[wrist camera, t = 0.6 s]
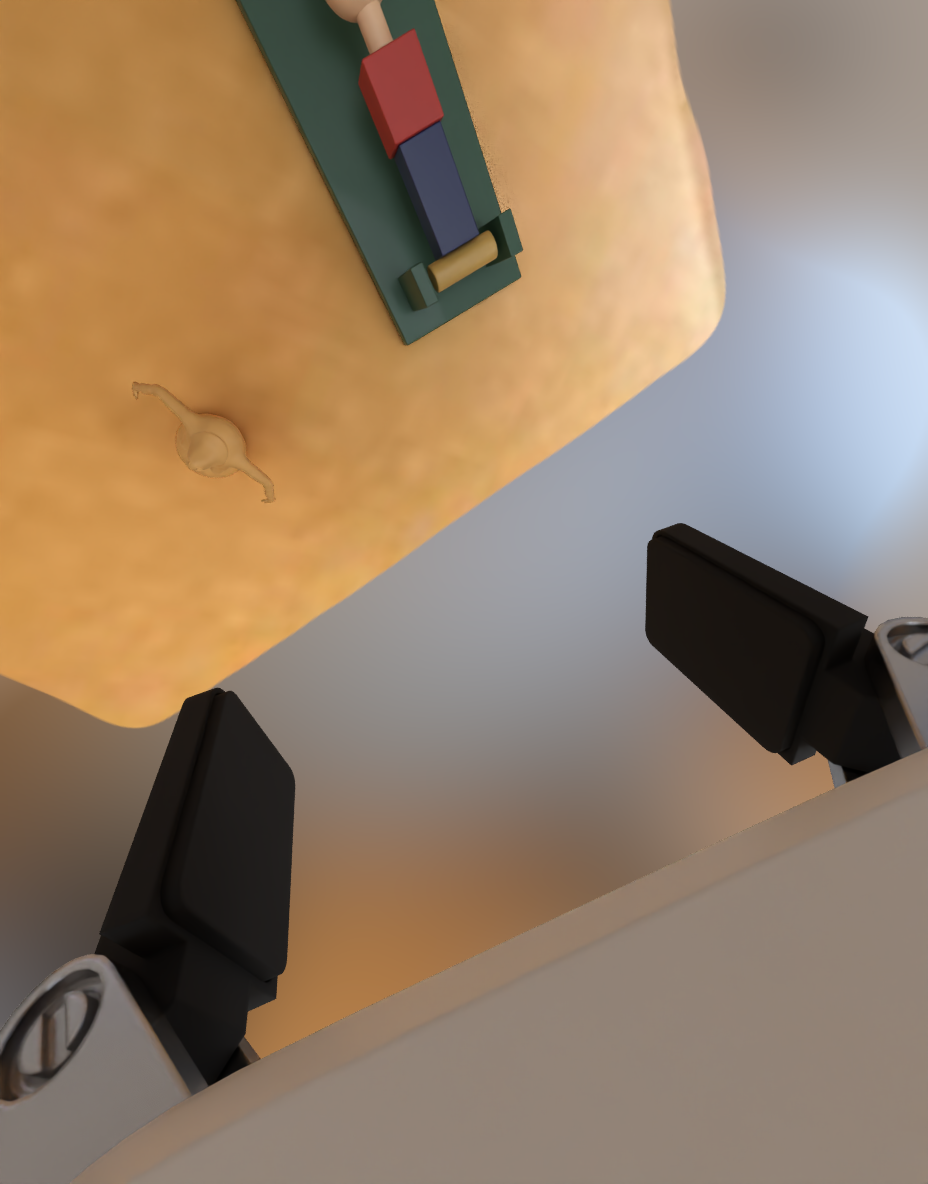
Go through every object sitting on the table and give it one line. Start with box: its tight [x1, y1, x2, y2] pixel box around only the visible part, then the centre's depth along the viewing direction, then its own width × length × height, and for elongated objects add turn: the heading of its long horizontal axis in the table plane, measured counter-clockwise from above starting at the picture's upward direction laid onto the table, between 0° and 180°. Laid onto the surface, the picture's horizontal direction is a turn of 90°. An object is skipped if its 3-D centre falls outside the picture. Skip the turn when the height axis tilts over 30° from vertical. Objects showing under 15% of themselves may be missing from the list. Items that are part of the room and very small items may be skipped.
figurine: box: [132, 382, 276, 503], centre depth 25 cm, size 8×6×12 cm
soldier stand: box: [236, 0, 523, 345], centre depth 23 cm, size 18×9×6 cm, turn 26°
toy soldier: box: [325, 0, 498, 292], centre depth 21 cm, size 14×4×3 cm, turn 26°
